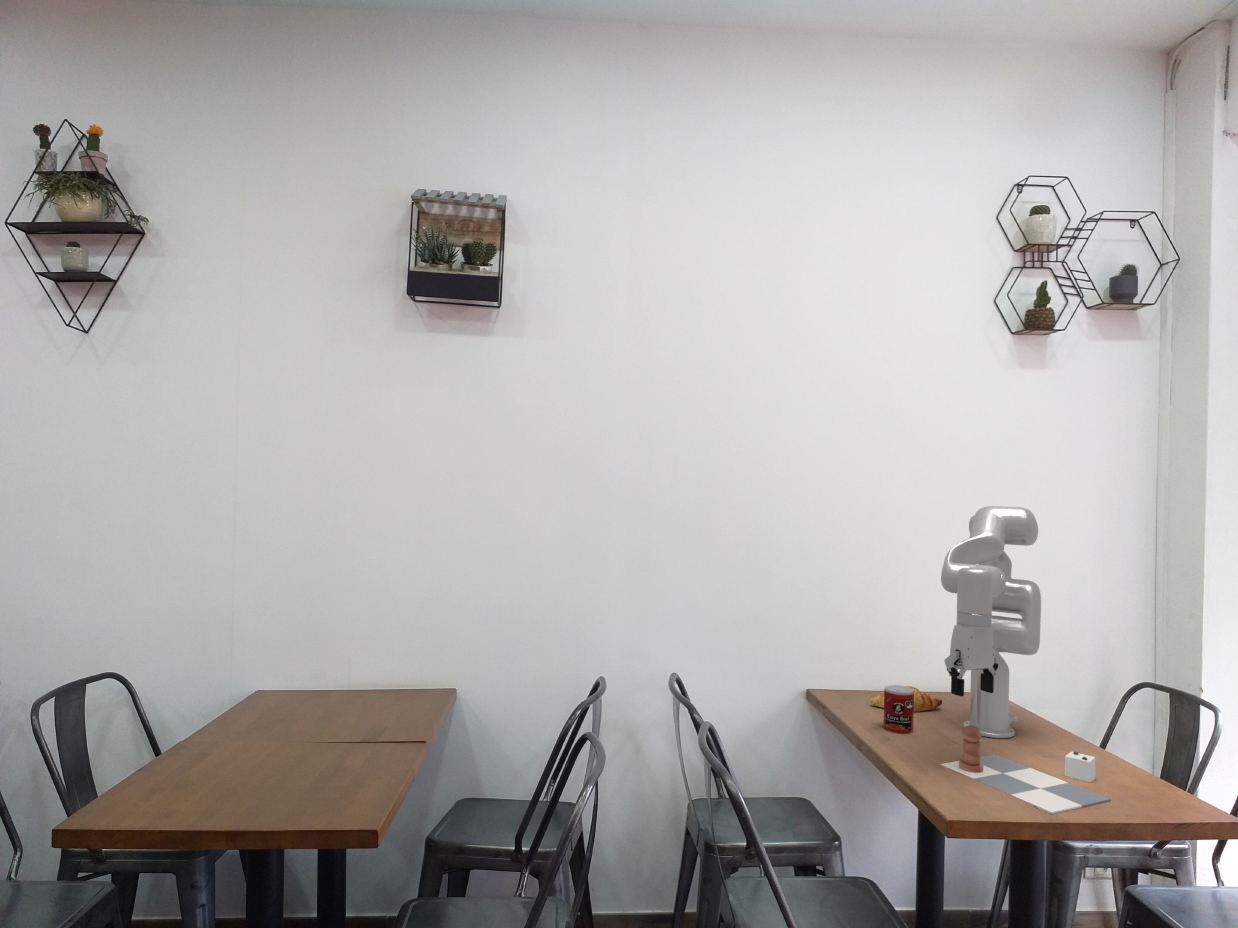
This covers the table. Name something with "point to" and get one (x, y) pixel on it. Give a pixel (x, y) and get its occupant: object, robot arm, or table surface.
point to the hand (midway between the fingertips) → (972, 693)
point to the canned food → (898, 708)
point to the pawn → (971, 750)
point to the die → (1080, 766)
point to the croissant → (920, 701)
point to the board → (1031, 785)
